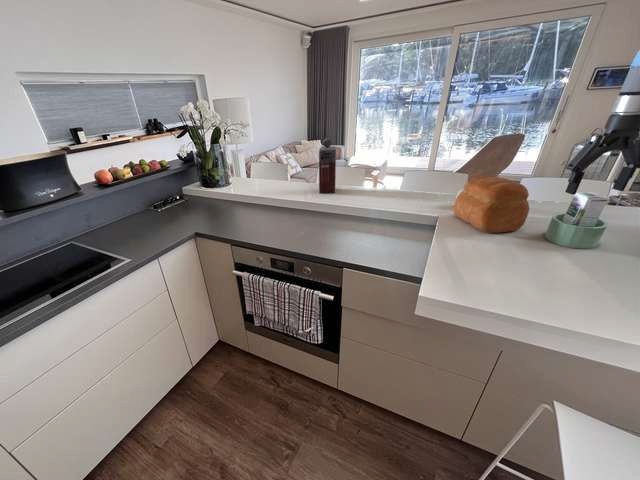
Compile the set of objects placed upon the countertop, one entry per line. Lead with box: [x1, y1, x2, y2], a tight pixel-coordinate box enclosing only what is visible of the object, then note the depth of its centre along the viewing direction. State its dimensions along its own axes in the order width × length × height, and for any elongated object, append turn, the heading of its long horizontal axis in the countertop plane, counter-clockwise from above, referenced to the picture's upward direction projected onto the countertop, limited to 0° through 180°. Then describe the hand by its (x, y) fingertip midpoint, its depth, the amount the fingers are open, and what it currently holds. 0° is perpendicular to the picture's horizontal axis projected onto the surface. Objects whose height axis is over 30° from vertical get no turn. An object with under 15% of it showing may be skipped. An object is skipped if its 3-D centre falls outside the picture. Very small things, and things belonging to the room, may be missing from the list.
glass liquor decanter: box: [318, 138, 337, 195], centre depth 156 cm, size 9×11×28 cm
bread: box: [453, 175, 530, 234], centre depth 107 cm, size 18×21×17 cm
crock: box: [544, 212, 609, 250], centre depth 93 cm, size 13×13×7 cm
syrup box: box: [562, 191, 610, 227], centre depth 91 cm, size 6×6×14 cm
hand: (593, 191), depth 87 cm, fingers open, 13 cm apart
